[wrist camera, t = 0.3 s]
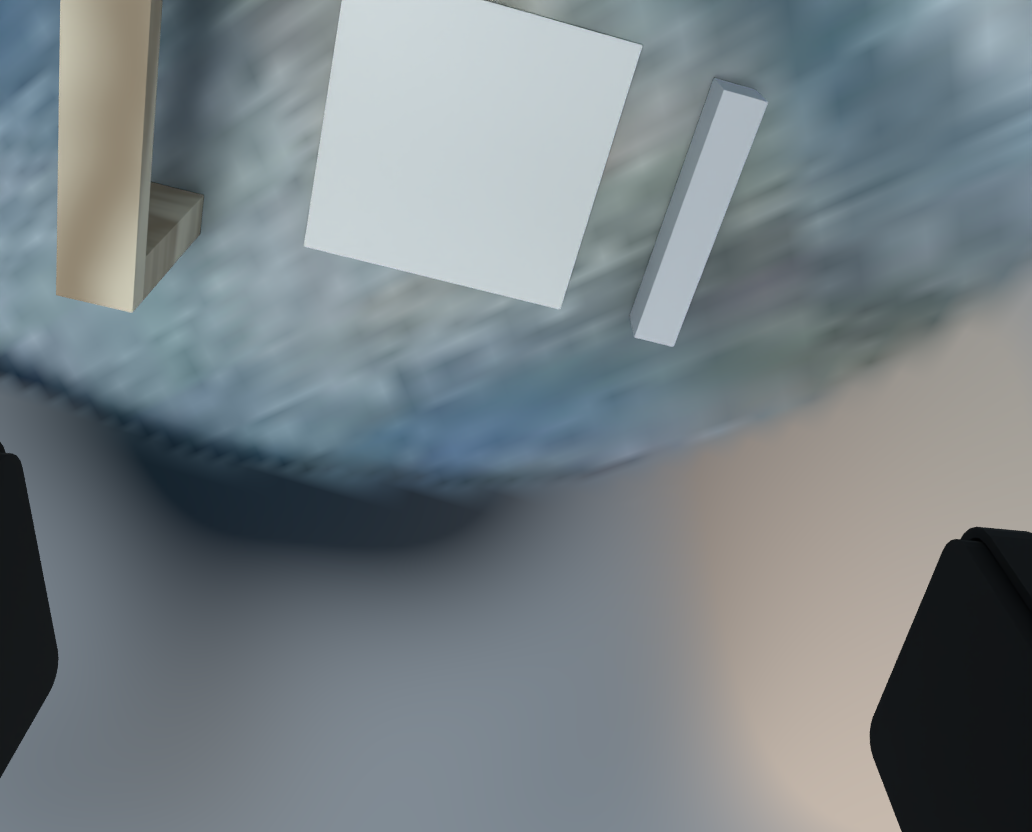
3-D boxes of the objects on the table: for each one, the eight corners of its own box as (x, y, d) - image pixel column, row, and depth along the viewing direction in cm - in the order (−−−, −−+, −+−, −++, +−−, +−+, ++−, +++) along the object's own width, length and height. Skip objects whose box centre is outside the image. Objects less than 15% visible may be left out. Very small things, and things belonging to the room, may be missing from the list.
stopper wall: (629, 315, 48) (634, 337, 46) (713, 77, 42) (723, 89, 40) (666, 324, 48) (673, 346, 46) (755, 89, 42) (768, 102, 40)
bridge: (137, 218, 46) (56, 295, 38) (157, -114, 39) (61, -105, 31) (200, 234, 46) (132, 312, 38) (231, -93, 39) (155, -79, 31)
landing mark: (304, 245, 46) (303, 246, 46) (348, -39, 40) (347, -39, 40) (560, 307, 48) (560, 309, 48) (642, 44, 42) (642, 45, 41)
